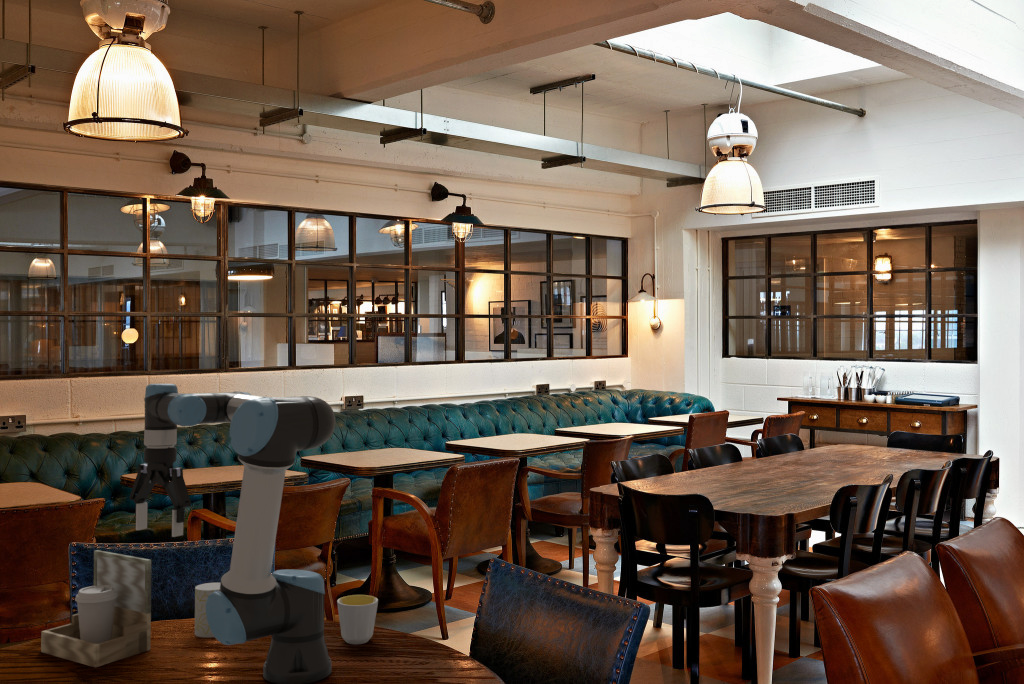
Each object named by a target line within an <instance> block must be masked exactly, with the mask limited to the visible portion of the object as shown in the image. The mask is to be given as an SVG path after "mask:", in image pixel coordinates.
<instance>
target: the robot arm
mask: <svg viewBox="0 0 1024 684" xmlns="http://www.w3.org/2000/svg"><path fill="white" fill-rule="evenodd" d="M146 385H147V384H146ZM144 393H145V395H144V399H143V400H144V433H143V434H144V435H143V436H144V437H143V438H144V439H143V445H144V446H146V447H144V450H143V462H144V463H141V464H138V466H137V474H136V477H135V480H134V482H133V485H132V488H131V492H130V494H129V496H128V498H129V500H130V501H133V502H134V505H135V506H134V510H135V511H134V513H135V531H142V530H146V529H148V505H149V504H148V501H147V498H148V497H149V495H150V494H151V492H152V491H153V489H154V487H155V485H159V486H161V487H162V488H164V489H165V491H166V493H167V495H168V498H169V499H170V502H171V503H172V505H173V508H172V509H171V510H172V514H171V518H172V519H171V538H176V537H181V536H184V522H185V511H186V509H187V508H189V507H192V502H191V498H190V495H189V492H188V489H187V485H186V481H185V478H184V471H183V470H184V469H183V468H182V466H181V467H174V463H176V462H177V458H178V457H177V456H178V455H177V446H175V445H177V444H178V443H177V442H178V441H177V440H178V439H177V438H178V436H177V435H178V434H177V431H178V429H177V428H178V426H180V427H193V426H197V425H204V424H205V425H207V424H220V423H221V424H222V423H224V424H226V423H228V424H230V425H229V438H231V441H230V444H231V445H230V446H231V447H232V449H233V451H234V452H235V453H236V454H237V455H238V456H237V459H238V461H239V462H240V463H241V464H242V465H243V472H242V480H241V486H240V487H241V489H240V494H239V495H240V496H239V501H238V502H239V503H238V508H237V509H238V510H237V515H236V516H237V517H236V524H235V531H234V539H233V543H232V544H233V546H232V553H231V559H230V565H229V566H230V567H229V570H228V571H227V572H226V573H224V574H223V575H222V576H221V578H220V583H221V584H220V590H219V591H214V592H213V593H211V594H210V595H209V596H208V598H207V601H206V616H207V621H208V624H209V627H210V629H211V632H212V633H213V635H214V636H215V637H214V638H215V639H216V640H217V641H218V642H219V643H221V644H223V645H225V646H231V645H232V646H233V645H237V644H241V645H242V644H245V643H246V642H250V641H254V640H258V639H262V638H266V637H270V636H271V642H270V645H269V647H268V651H267V654H266V660H265V661H264V663H263V667H262V670H263V675H262V676H263V678H264V679H265V680H266V681H267V682H269V683H273V684H311V683H314V682H318V681H321V680H323V679H325V678H327V677H329V676H330V675H331V674H332V659H331V657H330V656H329V652H328V646H327V643H326V641H325V595H326V592H325V580H324V578H323V576H322V575H321V574H320V573H318V572H315V571H312V570H304V569H293V568H292V569H277V570H274V571H273V572H272V568H273V567H272V566H273V560H274V553H275V545H276V539H277V532H278V525H279V518H280V511H281V506H282V505H281V504H282V498H283V491H284V485H285V477H286V472H287V470H288V469H289V468H291V467H292V466H293V465H294V464H295V459H296V453H297V452H298V451H307V450H312V449H317V448H318V447H321V446H322V445H325V444H326V442H327V441H329V439H330V438H331V437H332V435H333V434H334V432H335V429H336V428H335V427H336V422H337V421H336V415H335V412H334V410H333V408H332V406H331V405H330V404H329V403H328V402H327V401H325V400H323V399H322V398H319V397H317V396H309V395H307V396H305V395H302V396H280V397H279V396H277V397H269V396H261V395H254V394H251V393H249V392H246V391H231V392H230V391H227V392H226V391H225V392H195V393H193V392H192V393H191V392H190V393H179V390H178V386H177V384H174V383H150V384H148V385H147V386H146V387H145V392H144Z"/></svg>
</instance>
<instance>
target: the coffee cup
mask: <svg viewBox="0 0 1024 684" xmlns="http://www.w3.org/2000/svg"><path fill="white" fill-rule="evenodd" d="M117 597H118V595H117V592H116V591H115V589H114V587H113V586H108V585H98V586H94V585H91V586H86V587H82V588H80V589H78V592H77V594H76V595H75V598H74V601H75V602H76V605H77V614H78V617H79V629H80V640H84V641H88V642H91V643H95V644H98V643H102V642H105V641H108V640H111V639H112V629H113V619H114V609H115V600H116V598H117Z"/></svg>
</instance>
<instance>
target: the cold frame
mask: <svg viewBox="0 0 1024 684" xmlns="http://www.w3.org/2000/svg"><path fill="white" fill-rule="evenodd" d="M98 585H108V586H113V587H114V589H115V591H116V592H117V595H118V597H117V598H116V600H115V609H114V619H113V629H112V639H111V640H108V641H105V642H102V643H98V644H95V643H91V642H88V641H84V640H80V629H79V617H78V613H75V614H71V623H67V624H63V625H60V626H57V627H53V628H49V629H45V630H42V631H40V633H41V635H40V637H41V639H40V640H41V641H40V643H41V645H40V650H41V651H40V652H41V653H43V654H47V655H51V656H53V657H57V658H61V659H64V660H68V661H72V662H75V663H79V664H83V665H86V666H88V667H93V668H98V667H101V666H104V665H107V664H111V663H113V662H114V663H115V662H117V661H120V660H123V659H126V658H129V657H133V656H135V655H139V654H142V653H144V652H148V651H151V639H152V635H151V634H152V631H151V629H152V628H151V626H152V625H151V623H152V622H151V620H152V559H148V558H143V557H137V556H133V555H128V554H127V555H126V554H122V553H115V552H110V551H104V550H100V549H97V550H94V551H93V586H98ZM141 652H142V653H141Z"/></svg>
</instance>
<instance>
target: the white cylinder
mask: <svg viewBox="0 0 1024 684" xmlns="http://www.w3.org/2000/svg"><path fill="white" fill-rule="evenodd" d="M220 584H221V582H207V583H201V584H198V585H195V586H194V587H195V588H194V636H196V637H198V638H215V636H214V635H213V633H212V632H211V629H210V627H209V624H208V621H207V616H206V601H207V598H208V596H209V595H210V594H211V593H213V592H214V591H219V590H220Z"/></svg>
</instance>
